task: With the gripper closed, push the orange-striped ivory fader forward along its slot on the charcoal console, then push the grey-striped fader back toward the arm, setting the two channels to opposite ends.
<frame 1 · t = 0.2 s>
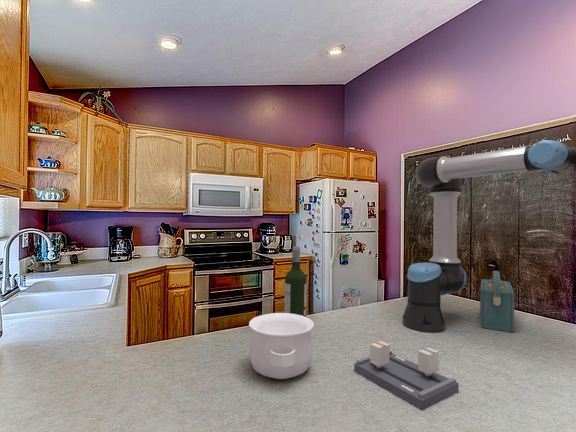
console: (403, 380, 79), on the countertop
pot: (280, 369, 84), on the countertop
wine bottle: (295, 330, 115), on the countertop
fader high: (428, 362, 77), point 5 cm above the countertop, slide at 4.5 cm
teal lunch box: (496, 322, 127), on the countertop
fader low: (379, 355, 81), point 5 cm above the countertop, slide at -4.5 cm
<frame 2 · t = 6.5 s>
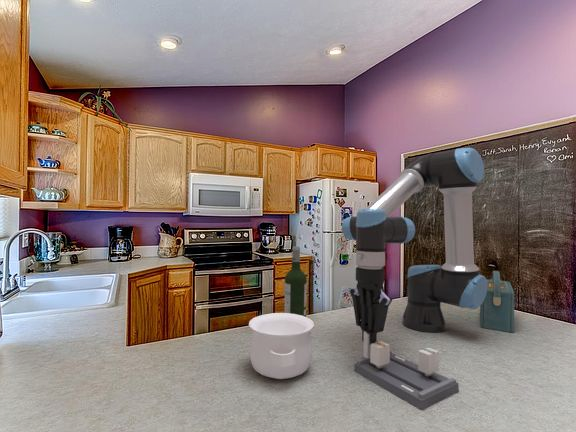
hand: (369, 355, 84), 4 cm above the countertop, fingers closed
fader low: (380, 355, 81), point 5 cm above the countertop, slide at -4.4 cm, touching gripper
everything else where it was.
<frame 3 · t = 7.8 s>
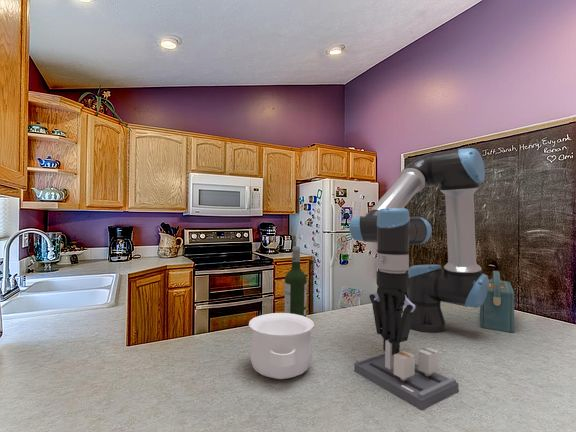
hand: (391, 366, 78), 4 cm above the countertop, fingers closed
fader low: (404, 366, 75), point 5 cm above the countertop, slide at 2.9 cm, touching gripper
everything else where it was.
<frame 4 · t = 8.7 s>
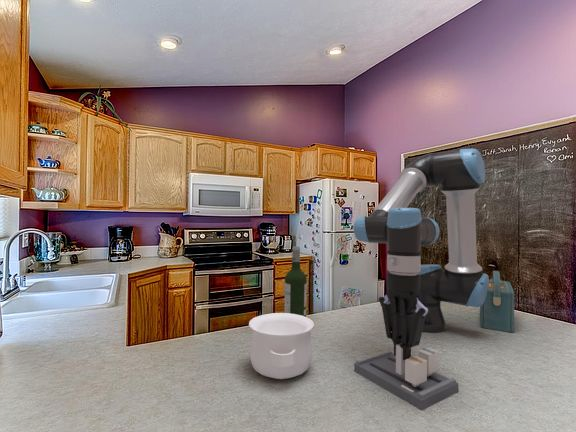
hand: (402, 372, 75), 4 cm above the countertop, fingers closed
fader low: (415, 372, 72), point 5 cm above the countertop, slide at 6.0 cm, touching gripper
everything else where it was.
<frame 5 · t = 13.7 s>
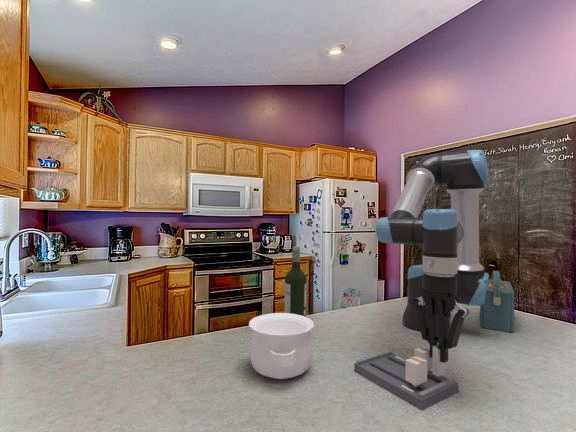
hand: (438, 373, 75), 4 cm above the countertop, fingers closed
fader high: (424, 360, 78), point 5 cm above the countertop, slide at 3.4 cm, touching gripper
fader low: (416, 372, 72), point 5 cm above the countertop, slide at 6.1 cm
everything else where it was.
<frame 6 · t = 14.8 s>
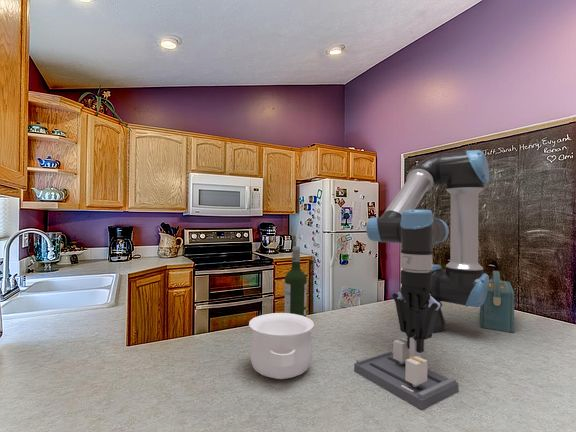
hand: (415, 363, 80), 4 cm above the countertop, fingers closed
fader high: (402, 351, 84), point 5 cm above the countertop, slide at -3.0 cm, touching gripper
everything else where it was.
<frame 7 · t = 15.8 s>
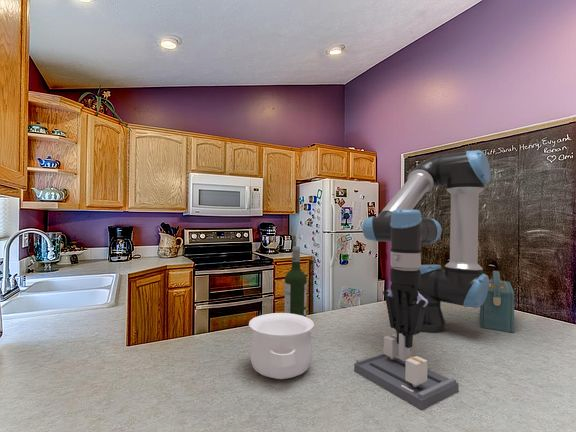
hand: (404, 358, 83), 4 cm above the countertop, fingers closed
fader high: (392, 347, 86), point 5 cm above the countertop, slide at -6.1 cm, touching gripper
everything else where it was.
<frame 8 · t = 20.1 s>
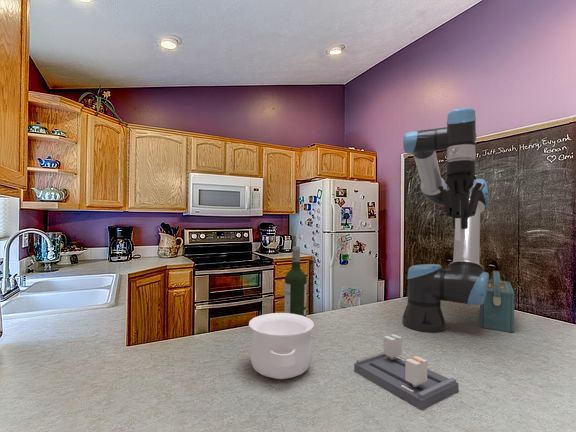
hand: (460, 240, 95), 34 cm above the countertop, fingers closed
fader high: (392, 347, 86), point 5 cm above the countertop, slide at -6.2 cm
everything else where it was.
at the end: fader low slide at 6.1 cm; fader high slide at -6.2 cm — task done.
